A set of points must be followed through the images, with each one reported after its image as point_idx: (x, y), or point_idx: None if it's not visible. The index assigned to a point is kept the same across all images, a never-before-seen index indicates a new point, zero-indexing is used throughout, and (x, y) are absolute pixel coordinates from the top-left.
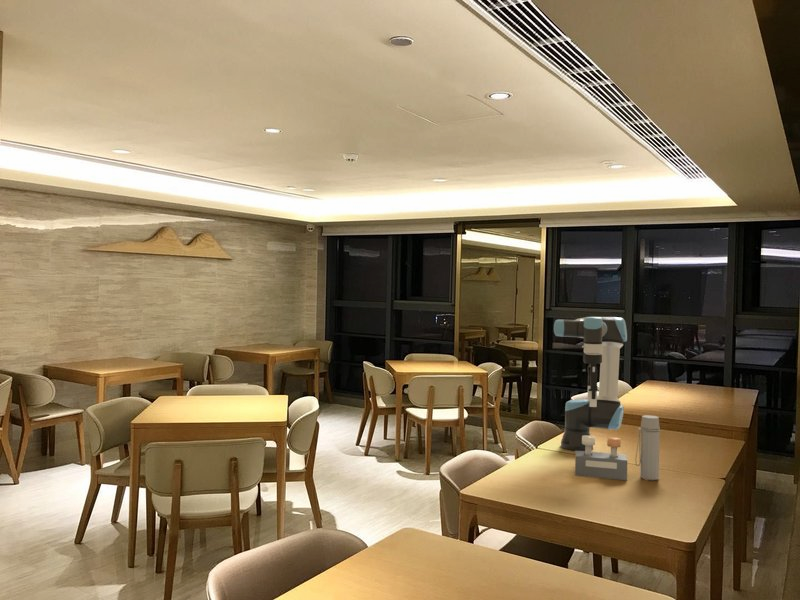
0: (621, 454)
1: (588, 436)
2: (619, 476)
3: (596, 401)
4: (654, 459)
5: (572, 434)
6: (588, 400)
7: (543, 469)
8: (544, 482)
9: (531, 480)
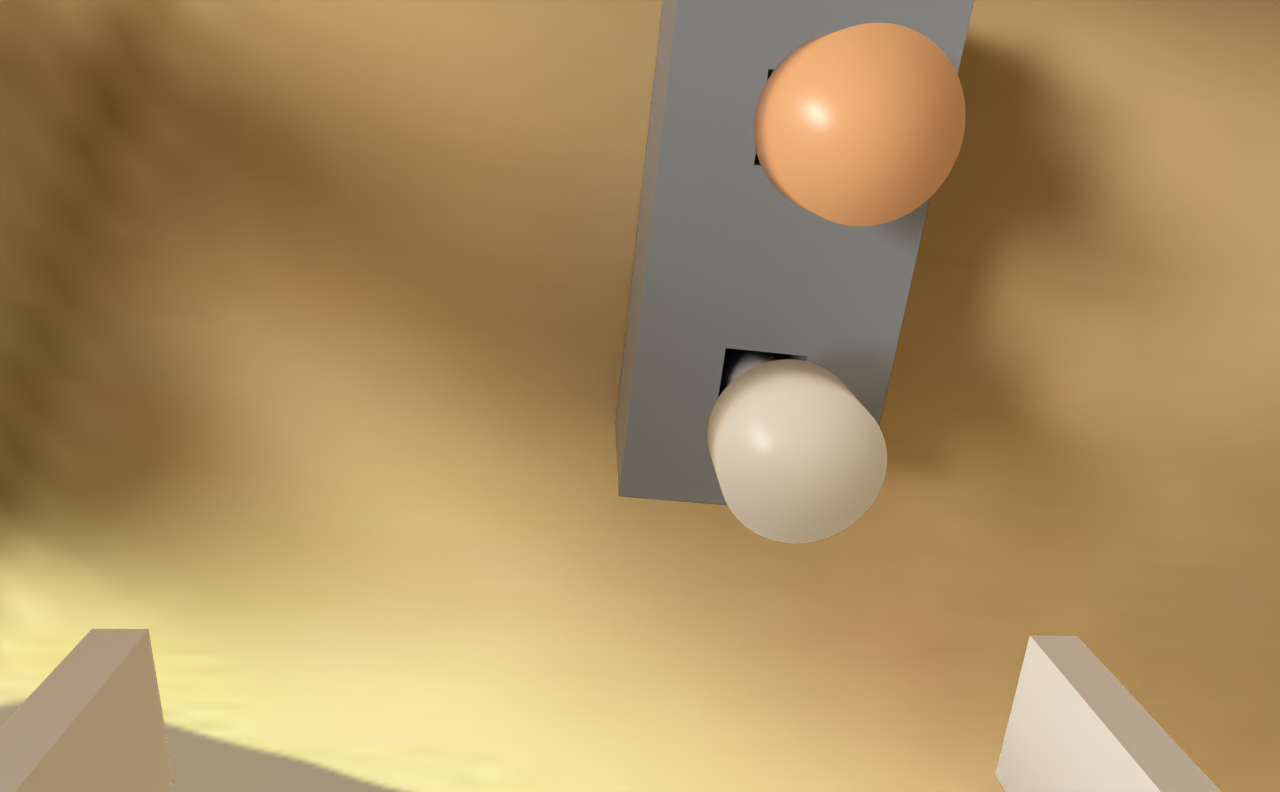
0: (686, 4)
1: (785, 467)
2: None
3: (1179, 753)
4: None
5: None
6: (166, 776)
7: (670, 650)
8: (1015, 649)
9: (975, 722)
